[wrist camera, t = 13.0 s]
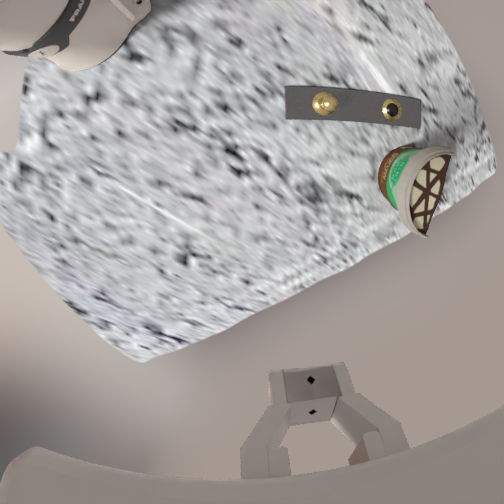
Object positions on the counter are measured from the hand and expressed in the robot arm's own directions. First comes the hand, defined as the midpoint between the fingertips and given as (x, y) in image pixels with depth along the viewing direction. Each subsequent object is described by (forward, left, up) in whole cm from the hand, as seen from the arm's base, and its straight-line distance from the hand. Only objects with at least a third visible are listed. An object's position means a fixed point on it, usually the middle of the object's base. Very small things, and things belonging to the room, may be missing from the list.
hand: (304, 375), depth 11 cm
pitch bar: (-10, +14, -31) cm, 36 cm away
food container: (-1, +19, -31) cm, 37 cm away
